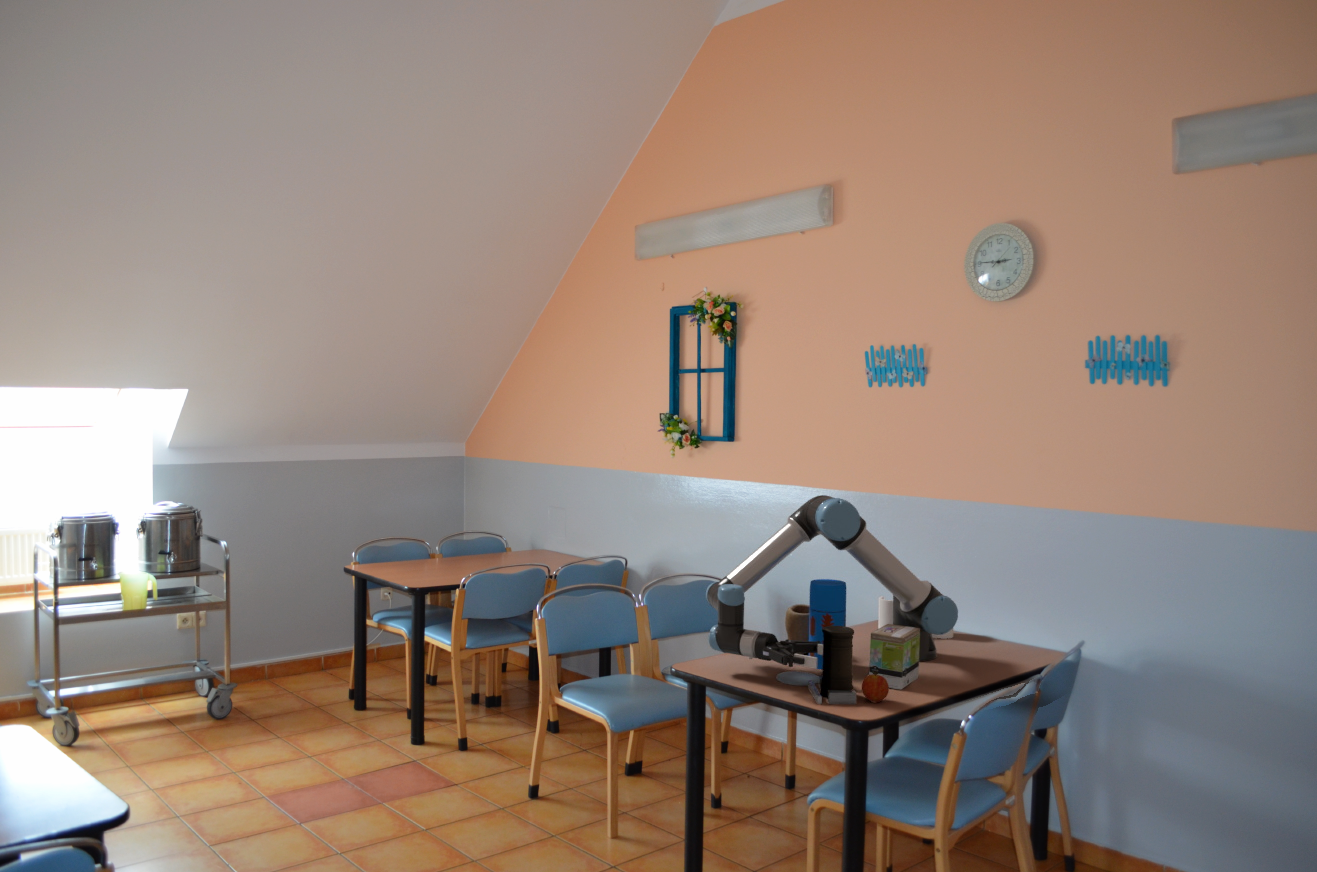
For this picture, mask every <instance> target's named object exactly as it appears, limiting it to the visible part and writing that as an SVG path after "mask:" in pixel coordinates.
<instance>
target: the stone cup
mask: <svg viewBox="0 0 1317 872" xmlns="http://www.w3.org/2000/svg"><path fill="white" fill-rule="evenodd" d="M784 624H785V625H784V626H785V630H786V634H787V639H788V640H797V641H809V604H804V603H800V604H799V603H798V604H797V603H796V604H794V605H792V606H790V607H788V608H787V610H786V612H785V621H784ZM796 654H800V655H804V654H805V653H796Z"/></svg>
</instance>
